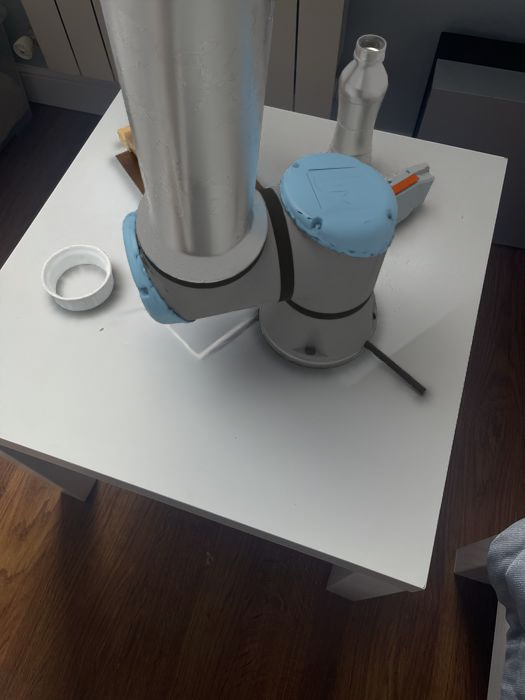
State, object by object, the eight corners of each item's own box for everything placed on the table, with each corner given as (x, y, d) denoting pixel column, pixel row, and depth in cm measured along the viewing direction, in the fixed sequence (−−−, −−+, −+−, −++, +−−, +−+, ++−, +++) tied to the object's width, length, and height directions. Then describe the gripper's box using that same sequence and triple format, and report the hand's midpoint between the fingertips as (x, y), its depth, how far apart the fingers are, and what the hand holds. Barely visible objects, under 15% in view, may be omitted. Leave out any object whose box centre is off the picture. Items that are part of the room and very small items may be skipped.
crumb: (153, 143, 84) (150, 131, 82) (130, 152, 83) (126, 141, 81) (143, 132, 86) (139, 120, 85) (120, 141, 85) (116, 129, 83)
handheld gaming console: (412, 195, 82) (427, 153, 75) (426, 207, 80) (443, 165, 73) (341, 239, 77) (350, 199, 70) (355, 252, 76) (366, 213, 69)
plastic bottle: (373, 179, 83) (406, 55, 65) (332, 186, 82) (354, 62, 65) (360, 150, 86) (388, 24, 68) (320, 157, 85) (338, 31, 68)
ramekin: (51, 323, 70) (40, 304, 66) (50, 268, 74) (40, 248, 70) (120, 312, 71) (113, 293, 67) (116, 259, 75) (109, 239, 71)
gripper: (75, -82, 61) (119, 100, 82) (136, -15, 55) (167, 163, 76) (134, -97, 63) (163, 84, 84) (200, -35, 57) (213, 144, 78)
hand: (165, 121), depth 80 cm, fingers closed on brush, 3 cm apart
